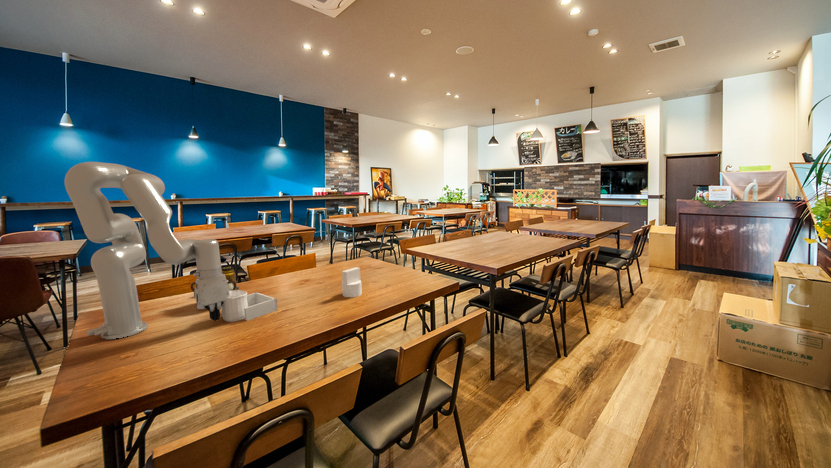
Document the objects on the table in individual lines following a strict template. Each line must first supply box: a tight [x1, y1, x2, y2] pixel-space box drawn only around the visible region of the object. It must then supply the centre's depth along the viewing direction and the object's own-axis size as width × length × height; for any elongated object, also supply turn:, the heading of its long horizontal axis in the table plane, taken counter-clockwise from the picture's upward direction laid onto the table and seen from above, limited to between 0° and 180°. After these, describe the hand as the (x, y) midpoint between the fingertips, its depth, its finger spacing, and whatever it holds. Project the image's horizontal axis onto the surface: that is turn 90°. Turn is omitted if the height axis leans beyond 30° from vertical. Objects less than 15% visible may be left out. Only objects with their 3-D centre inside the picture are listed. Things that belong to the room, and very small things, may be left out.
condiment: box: [221, 266, 240, 290], centre depth 161 cm, size 7×8×12 cm
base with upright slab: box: [341, 267, 363, 298], centre depth 153 cm, size 9×9×12 cm
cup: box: [221, 289, 248, 323], centre depth 128 cm, size 10×10×10 cm
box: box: [244, 292, 278, 322], centre depth 134 cm, size 13×15×5 cm
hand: (215, 319), depth 122 cm, fingers closed
